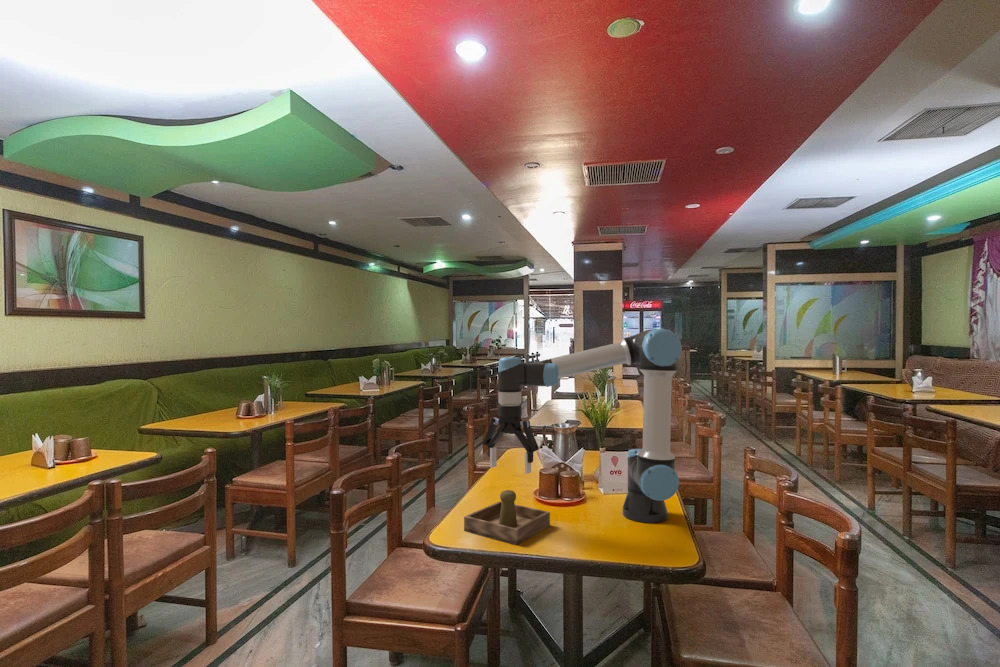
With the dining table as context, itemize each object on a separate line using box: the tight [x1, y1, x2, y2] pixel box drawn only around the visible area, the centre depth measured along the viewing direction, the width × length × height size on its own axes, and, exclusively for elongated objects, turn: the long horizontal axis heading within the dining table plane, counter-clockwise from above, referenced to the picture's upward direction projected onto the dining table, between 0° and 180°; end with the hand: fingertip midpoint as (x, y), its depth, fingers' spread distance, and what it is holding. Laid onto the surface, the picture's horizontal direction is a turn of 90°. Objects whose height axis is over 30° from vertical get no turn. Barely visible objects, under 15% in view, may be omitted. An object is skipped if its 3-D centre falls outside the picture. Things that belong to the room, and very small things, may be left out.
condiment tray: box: [463, 500, 551, 546], centre depth 166 cm, size 20×20×4 cm
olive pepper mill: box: [499, 489, 517, 528], centre depth 166 cm, size 6×6×11 cm
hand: (510, 469), depth 167 cm, fingers open, 13 cm apart
